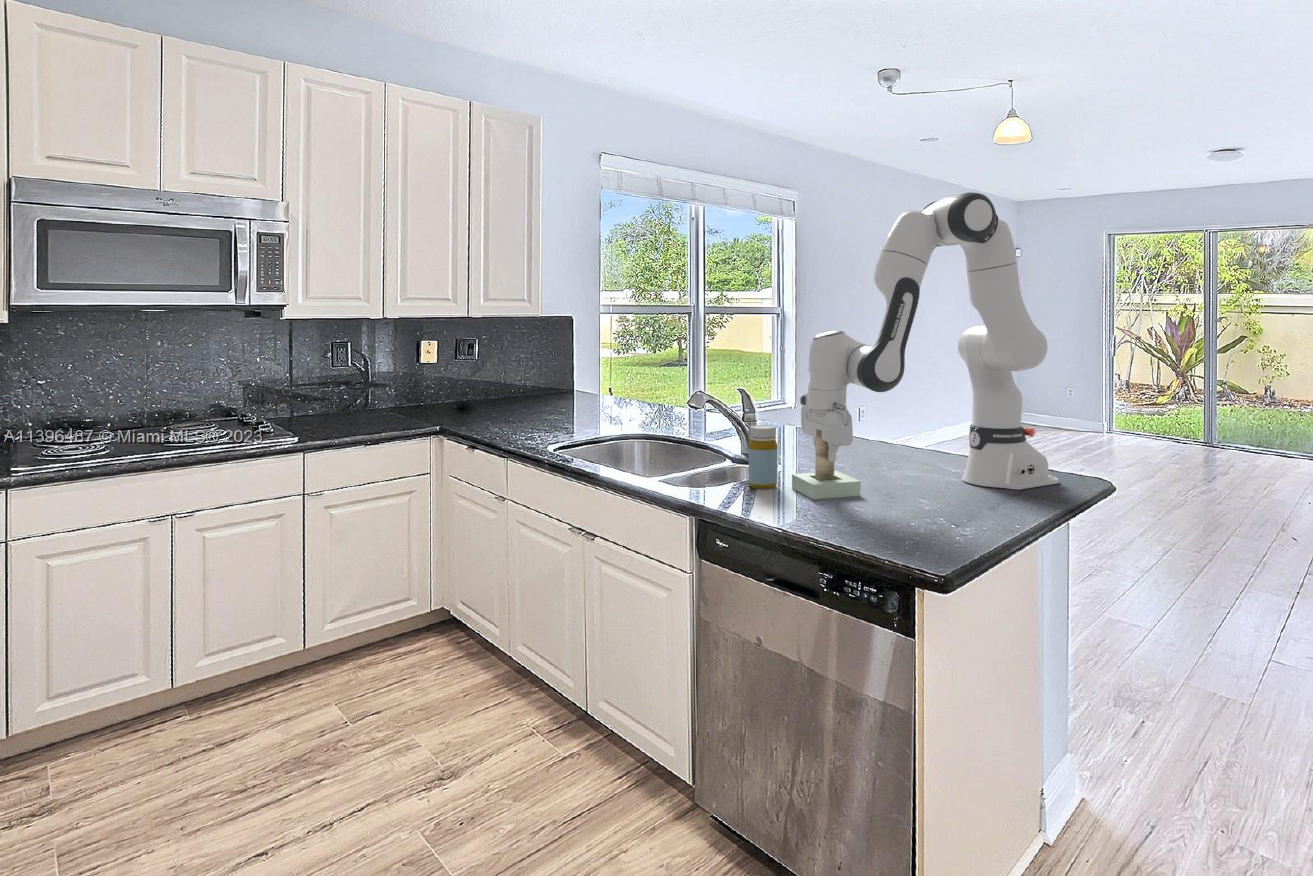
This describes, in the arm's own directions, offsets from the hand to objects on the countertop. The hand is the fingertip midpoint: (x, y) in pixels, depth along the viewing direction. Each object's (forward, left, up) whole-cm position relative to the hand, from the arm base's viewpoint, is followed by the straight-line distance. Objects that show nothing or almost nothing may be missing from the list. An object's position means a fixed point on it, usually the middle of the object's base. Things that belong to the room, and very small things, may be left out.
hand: (825, 458), depth 185 cm
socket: (0, 0, -8) cm, 8 cm away
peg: (0, 0, -5) cm, 5 cm away
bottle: (+12, -10, -8) cm, 18 cm away
